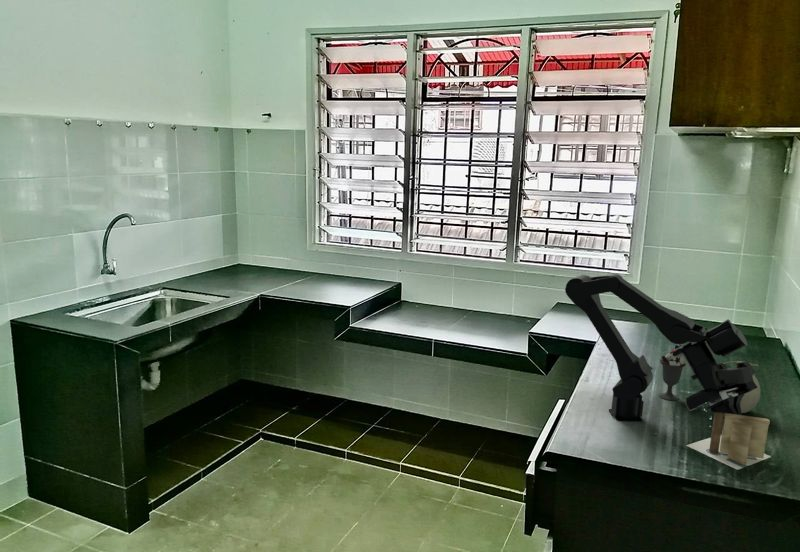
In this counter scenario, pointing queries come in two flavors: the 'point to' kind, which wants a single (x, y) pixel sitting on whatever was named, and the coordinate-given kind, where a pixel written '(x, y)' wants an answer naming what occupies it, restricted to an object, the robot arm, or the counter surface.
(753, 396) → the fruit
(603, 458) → the counter surface
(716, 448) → the wooden plank
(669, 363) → the sundae
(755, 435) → the fence panel
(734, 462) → the card
